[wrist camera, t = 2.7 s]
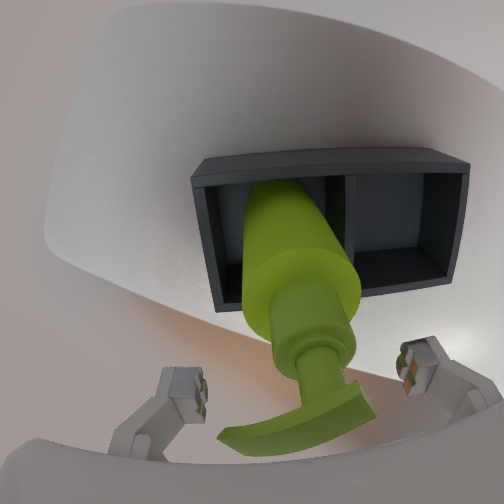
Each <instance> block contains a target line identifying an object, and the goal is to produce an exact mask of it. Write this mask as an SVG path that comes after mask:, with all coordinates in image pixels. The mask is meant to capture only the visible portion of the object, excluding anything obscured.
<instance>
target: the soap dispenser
mask: <svg viewBox="0 0 504 504" xmlns="http://www.w3.org/2000/svg"><path fill="white" fill-rule="evenodd" d="M360 300H361V283H360V279H359V276H358V274H357V272H356V270H355V269H354V267H353V265H352V263H351V262H350V260H349V258H348V257H347V255H346V253H345V251H344V250H343V248H342V246H341V245H340V243H339V241H338V240H337V238H336V236H335V235H334V233H333V231H332V230H331V228H330V227H329V225H328V223H327V222H326V220H325V218H324V217H323V215H322V214H321V212H320V210H319V209H318V207H317V206H316V204H315V203H314V201H313V199H312V198H311V196H310V195H309V193H308V192H307V190H306V189H305V188H304V187H303V186H302V185H300V184H299V183H297V182H295V181H293V180H291V179H277V180H266V181H264V182H262V183H260V184H259V185H257V186H256V187H255V188H254V189H253V190H252V191H251V192H250V194H249V196H248V198H247V200H246V203H245V208H244V240H243V277H242V309H243V314H244V317H245V319H246V321H247V323H248V324H249V326H250V327H251V328H252V330H253V331H254V332H255V333H257V334H258V335H259V336H260V337H262V338H264V339H265V340H267V341H269V342H272V352H273V360H274V363H275V366H276V368H277V369H278V370H279V371H280V372H281V373H282V374H283V375H285V376H286V377H288V378H291V379H294V380H298V382H299V389H300V395H301V402H302V407H300V408H297V409H295V410H293V411H291V412H288V413H285V414H283V415H280V416H278V417H275V418H272V419H269V420H266V421H263V422H260V423H256V424H251V425H246V426H238V427H228V428H225V429H224V430H223V431H222V432H221V433H220V434H219V435H218V437H217V439H218V440H219V441H221V442H222V443H224V444H226V445H227V446H229V447H231V448H232V449H234V450H236V451H237V452H239V453H241V454H243V455H245V456H252V457H263V456H276V455H283V454H289V453H294V452H298V451H302V450H305V449H308V448H311V447H314V446H317V445H320V444H322V443H325V442H327V441H329V440H332V439H334V438H336V437H339V436H341V435H343V434H345V433H347V432H349V431H351V430H353V429H355V428H357V427H359V426H361V425H363V424H365V423H367V422H368V421H370V420H372V419H374V418H376V417H377V415H376V412H375V409H374V406H373V403H372V402H371V400H370V399H369V398H368V396H367V395H366V393H365V392H364V390H363V389H362V387H361V386H360V384H359V383H358V381H357V380H355V381H354V382H352V383H350V384H348V385H347V382H346V379H345V375H344V372H343V369H344V368H345V367H346V366H347V365H348V364H349V363H350V361H351V360H352V358H353V356H354V354H355V351H356V339H355V336H354V333H353V330H352V328H351V325H350V323H349V322H350V321H351V319H352V318H353V316H354V315H355V313H356V311H357V309H358V307H359V304H360Z"/></svg>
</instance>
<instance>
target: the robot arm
mask: <svg viewBox="0 0 504 504" xmlns="http://www.w3.org/2000/svg"><path fill="white" fill-rule="evenodd" d="M400 351H401V354H400V355H399V356H398V358H397V362H396V369H397V373H398V376H399V378H400V379H402V380H404V384H403V387H404V389H405V391H406V393H407V395H408V397H411V396H415V395H419V394H423V393H425V394H426V395H427V396H429V397H430V398H431V399H432V400H434V401H435V402H436V403H438V404H439V405H440V406H441V407H443V408H444V409H445V410H446V411H448V412H449V413H450V414H451V415H453V417H452V418H451V420H450V421H449V423H448V424H447V425H445V426H442V427H439V428H436V429H433V430H430V431H427V432H424V433H421V434H418V435H415V436H412V437H408V438H405V439H401V440H398V441H394V442H391V443H386V444H383V445H378V446H375V447H370V448H365V449H361V450H356V451H351V452H346V453H341V454H335V455H329V456H323V457H316V458H309V459H301V460H293V461H282V462H272V463H254V464H188V463H187V464H186V463H172V462H169V461H168V460H167V459H166V457H165V456H164V455H163V453H162V452H163V451H164V449H165V448H166V447H167V446H168V445H169V443H170V442H171V441H172V440H173V439H174V437H175V436H176V435H177V434H178V432H179V431H180V430H181V429H182V427H183V426H184V424H187V423H188V424H194V423H195V424H197V423H205V418H206V408H205V405H204V404H205V403H206V402H207V399H208V389H207V384H206V380H205V379H203V371H202V368H201V367H164V368H163V370H162V373H161V377H160V381H159V384H158V388H157V392H156V396H155V397H151V398H150V399H149V400H148V401H147V402H146V403H145V404H144V405H143V406H141V407H140V408H139V409H138V410H137V411H136V412H135V413H134V414H132V415H131V416H130V417H129V418H128V419H127V420H126V421H124V422H123V423H122V424H121V425H120V426H119V427H118V428H116V429H115V431H114V434H113V437H112V440H111V444H110V447H109V450H108V454H103V453H98V452H93V451H88V450H83V449H79V448H74V447H70V446H66V445H63V444H58V443H55V442H51V441H48V440H45V439H41V438H34V439H32V440H29V441H28V442H26V443H25V444H23V445H21V446H20V447H18V448H17V449H15V450H14V451H12V452H11V453H10V454H9V455H8V456H7V458H6V459H5V461H4V463H3V464H2V466H1V468H0V504H504V399H503V397H502V396H501V394H500V392H499V391H498V389H497V387H496V386H495V384H494V383H493V381H492V380H490V379H488V378H486V377H484V376H483V375H481V374H479V373H477V372H475V371H473V370H471V369H469V368H468V367H466V366H464V365H462V364H460V363H458V362H456V361H455V360H450V359H449V357H448V355H447V354H446V352H445V351H444V349H443V348H442V346H441V345H440V343H439V341H438V340H437V338H436V337H435V336H430V337H426V338H421V339H417V340H413V341H408V342H404V343H402V345H401V347H400Z"/></svg>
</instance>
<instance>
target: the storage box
mask: <svg viewBox="0 0 504 504" xmlns="http://www.w3.org/2000/svg"><path fill="white" fill-rule="evenodd" d="M469 173H470V163H467V162H465V161H462V160H460V159H457V158H455V157H452V156H449V155H447V154H444V153H441V152H438V151H436V150H433V149H430V148H408V147H353V148H323V149H304V150H289V151H276V152H264V153H253V154H244V155H234V156H226V157H217V158H210V159H204V160H203V162H202V163H201V164H200V166H199V167H198V168H197V169H196V171H195V172H194V173H193V175H192V176H191V184H192V188H193V196H194V202H195V208H196V213H197V219H198V225H199V230H200V236H201V241H202V247H203V252H204V257H205V262H206V268H207V273H208V278H209V283H210V288H211V293H212V298H213V302H214V307H215V312H216V313H218V312H232V311H243V309H242V277H243V240H244V208H245V203H246V200H247V198H248V196H249V194H250V192H251V191H252V190H253V189H254V188H255V187H256V186H257V185H259V184H260V183H262V182H264V181H266V180H277V179H291V180H293V181H295V182H297V183H299V184H300V185H302V186H303V187H304V188H305V189H306V190H307V192H308V193H309V195H310V196H311V198H312V199H313V201H314V203H315V204H316V206H317V207H318V209H319V210H320V212H321V214H322V215H323V217H324V218H325V220H326V222H327V223H328V225H329V227H330V228H331V230H332V231H333V233H334V235H335V236H336V238H337V240H338V241H339V243H340V245H341V246H342V248H343V250H344V251H345V253H346V255H347V257H348V258H349V260H350V262H351V263H352V265H353V267H354V269H355V270H356V272H357V274H358V276H359V279H360V283H361V298H362V297H370V296H377V295H383V294H390V293H397V292H403V291H409V290H416V289H422V288H428V287H433V286H439V285H445V284H450V283H451V282H452V278H453V274H454V270H455V266H456V261H457V257H458V252H459V247H460V242H461V236H462V230H463V224H464V218H465V211H466V204H467V196H468V187H469V176H470V174H469Z"/></svg>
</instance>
